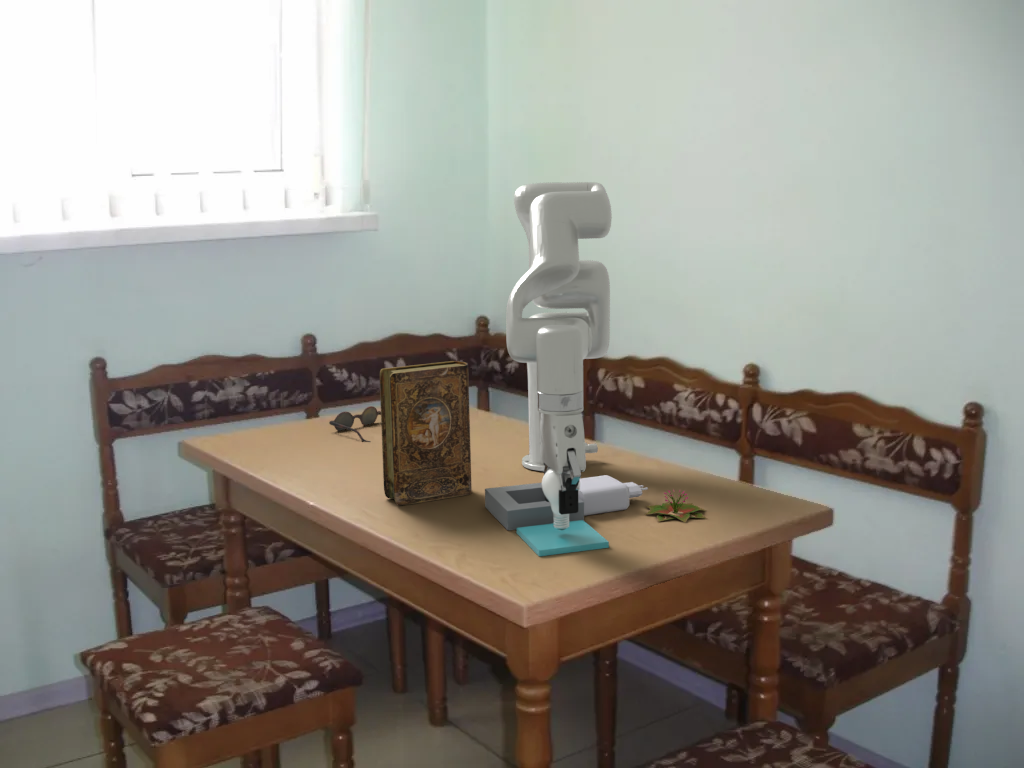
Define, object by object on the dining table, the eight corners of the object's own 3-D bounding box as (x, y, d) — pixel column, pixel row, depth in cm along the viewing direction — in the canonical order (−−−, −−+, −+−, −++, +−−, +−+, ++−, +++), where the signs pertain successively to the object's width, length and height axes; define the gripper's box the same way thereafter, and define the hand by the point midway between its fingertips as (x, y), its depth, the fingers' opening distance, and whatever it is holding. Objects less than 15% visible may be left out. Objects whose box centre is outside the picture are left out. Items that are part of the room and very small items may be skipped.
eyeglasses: (380, 423, 276) (379, 403, 275) (418, 433, 266) (417, 412, 265) (329, 434, 266) (328, 413, 265) (367, 445, 256) (366, 423, 255)
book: (463, 486, 221) (459, 360, 216) (475, 493, 216) (472, 364, 211) (384, 499, 213) (378, 369, 208) (394, 507, 209) (389, 373, 204)
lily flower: (698, 503, 209) (698, 479, 208) (718, 524, 197) (719, 498, 196) (634, 507, 207) (634, 483, 206) (651, 528, 196) (651, 503, 195)
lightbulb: (557, 521, 193) (557, 458, 191) (588, 528, 189) (587, 464, 187) (534, 531, 188) (533, 467, 186) (565, 538, 184) (564, 473, 182)
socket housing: (557, 498, 212) (557, 480, 211) (584, 521, 198) (583, 502, 198) (485, 507, 208) (484, 488, 207) (507, 530, 194) (507, 510, 194)
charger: (657, 506, 207) (583, 518, 201) (633, 493, 215) (561, 503, 209) (657, 481, 206) (583, 492, 200) (633, 469, 214) (561, 479, 208)
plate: (582, 525, 196) (582, 519, 196) (608, 547, 185) (608, 541, 185) (516, 533, 193) (516, 527, 193) (539, 556, 182) (538, 550, 181)
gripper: (601, 410, 177) (601, 520, 181) (563, 389, 194) (564, 490, 197) (556, 414, 175) (557, 525, 179) (522, 392, 191) (523, 494, 195)
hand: (561, 505), depth 188 cm, fingers closed on lightbulb, 6 cm apart
